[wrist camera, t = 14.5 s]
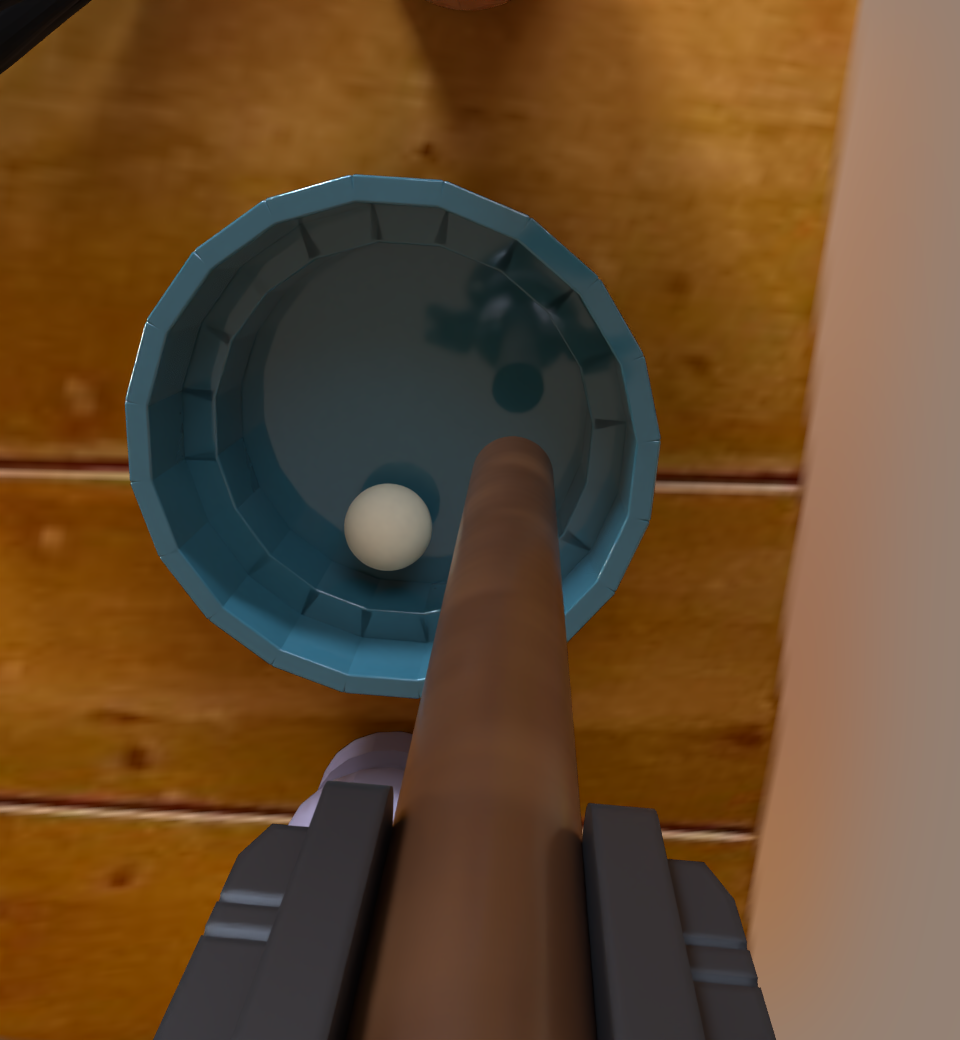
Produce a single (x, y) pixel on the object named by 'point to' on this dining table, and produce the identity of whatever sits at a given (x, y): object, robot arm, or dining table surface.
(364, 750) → the cat figurine
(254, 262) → the bowl
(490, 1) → the holder
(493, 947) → the stick
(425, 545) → the ball
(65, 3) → the black elongated part
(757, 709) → the dining table surface
